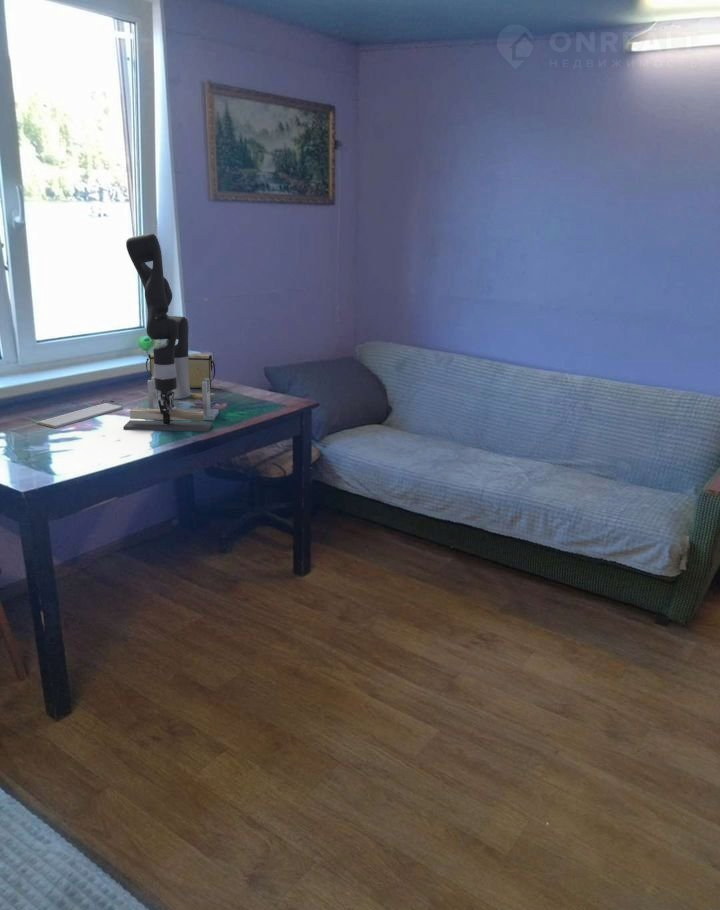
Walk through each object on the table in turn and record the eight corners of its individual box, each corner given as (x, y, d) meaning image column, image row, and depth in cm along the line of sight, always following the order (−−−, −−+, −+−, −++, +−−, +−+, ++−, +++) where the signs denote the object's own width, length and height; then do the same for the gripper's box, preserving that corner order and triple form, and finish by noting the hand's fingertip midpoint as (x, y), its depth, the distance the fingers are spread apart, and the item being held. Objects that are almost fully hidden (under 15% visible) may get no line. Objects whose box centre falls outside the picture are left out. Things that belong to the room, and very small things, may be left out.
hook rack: (148, 410, 272) (146, 375, 267) (218, 412, 273) (217, 377, 268) (141, 418, 263) (138, 381, 258) (213, 420, 263) (212, 384, 259)
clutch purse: (217, 385, 314) (215, 352, 309) (214, 389, 307) (213, 355, 302) (149, 384, 312) (147, 350, 307) (145, 388, 305) (143, 354, 300)
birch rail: (132, 416, 253) (132, 408, 252) (204, 418, 254) (204, 410, 253) (130, 418, 251) (129, 410, 250) (203, 420, 251) (202, 412, 250)
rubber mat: (130, 422, 257) (129, 420, 257) (212, 425, 258) (212, 422, 257) (123, 429, 249) (123, 426, 249) (208, 431, 250) (208, 429, 250)
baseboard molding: (33, 424, 254) (55, 430, 248) (32, 416, 253) (54, 422, 247) (101, 405, 279) (122, 410, 274) (100, 398, 278) (122, 403, 273)
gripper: (159, 370, 254) (162, 416, 259) (149, 380, 240) (152, 428, 246) (180, 371, 254) (182, 417, 260) (171, 380, 241) (173, 428, 246)
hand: (168, 422), depth 253 cm, fingers closed on birch rail, 3 cm apart
